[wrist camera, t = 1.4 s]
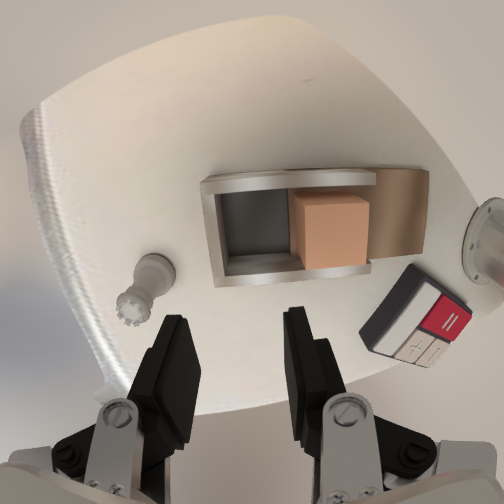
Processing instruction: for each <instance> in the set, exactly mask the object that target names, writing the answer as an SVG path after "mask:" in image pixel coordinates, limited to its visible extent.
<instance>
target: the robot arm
mask: <svg viewBox="0 0 504 504" xmlns="http://www.w3.org/2000/svg"><path fill="white" fill-rule="evenodd" d="M463 266H464V270H465V273H466V275H467V276H468V278H469V279H470V280H471V281H473V282H474V283H476V284H486V283H488V282H491V283H493V284H494V285H495V286H496V287H498V288H499V289H500V290H501V291H503V292H504V199H501V198H497V197H494V198H491V199H489V200H487V201H485V202H484V203H483V204H482V205H481V206H480V207H479V209H478V210H477V212H476V213H475V215H474V217H473V218H472V220H471V222H470V225H469V227H468V230H467V233H466V237H465V241H464V246H463ZM283 323H284V364H285V374H286V381H287V389H288V396H289V404H290V412H291V419H292V427H293V435H294V441H299V440H300V444H301V448H304V452H305V453H307V454H309V455H310V456H312V457H313V477H312V496H311V497H312V498H311V504H504V490H503V489H502V487H501V485H500V484H499V482H498V481H497V479H496V478H495V475H496V463H497V452H496V449H495V447H494V446H493V445H492V444H491V443H488V442H469V441H468V442H467V441H447V440H441V441H440V443H437V442H434V441H433V440H432V439H431V438H430V437H428V436H426V435H424V434H421V433H418V432H415V431H412V430H410V429H407V428H405V427H402V426H400V425H397V424H394V423H392V422H390V421H387V420H384V419H382V418H380V417H378V416H375V415H373V411H372V407H371V404H370V403H369V401H368V400H367V399H366V398H364V397H363V396H361V395H359V394H355V393H347V392H346V389H345V386H344V383H343V380H342V377H341V374H340V371H339V368H338V365H337V362H336V359H335V356H334V354H333V351H332V348H331V345H330V342H329V340H328V339H327V338H324V339H316V340H314V339H313V336H312V332H311V329H310V325H309V322H308V319H307V315H306V312H305V309H304V306H300V307H290V308H289V310H288V312H283ZM200 377H201V367H200V364H199V360H198V357H197V354H196V350H195V347H194V343H193V339H192V336H191V332H190V328H189V324H188V321H187V319H186V318H183V317H182V316H181V315H166V316H165V318H164V321H163V323H162V325H161V328H160V330H159V332H158V335H157V337H156V339H155V342H154V344H153V346H152V348H148V349H147V351H146V353H145V355H144V357H143V360H142V362H141V364H140V367H139V369H138V372H137V374H136V376H135V379H134V381H133V384H132V386H131V389H130V391H129V394H128V396H127V399H125V398H117V399H113V400H110V401H109V402H107V403H106V404H104V405H103V407H102V408H101V409H100V412H99V414H98V418H97V422H96V424H94V425H92V426H90V427H88V428H86V429H84V430H81V431H79V432H77V433H75V434H73V435H71V436H69V437H67V438H64V439H62V440H61V441H59V442H57V444H56V445H55V446H54V448H52V447H51V446H46V447H39V448H32V449H24V450H17V451H14V452H13V453H12V454H11V455H10V457H9V461H8V462H5V463H1V464H0V504H171V499H170V498H171V496H170V456H171V455H173V454H174V451H175V449H177V450H184V444H185V443H189V440H190V434H191V428H192V423H193V416H194V411H195V405H196V399H197V394H198V388H199V382H200ZM383 491H384V492H383Z"/></svg>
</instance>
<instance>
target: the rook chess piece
mask: <svg viewBox="0 0 504 504" xmlns="http://www.w3.org/2000/svg"><path fill="white" fill-rule="evenodd" d="M133 276H134V283H133V285H132V286H130V287H129V288H128V289H127V290H126V292H124V293H121V294H120V295H119V296H118V298H117V308H116V310H117V311H119V313H118V314H117V316H118V317H119V319H122V318H124V319H125V320H126V321H125V324H127V325H130V324H131V323H133V325H134V327H135V326H139V324H140V323H143V322H146V321H147V320H148V319H149V317H150V314H151V311H150V309H151V308H152V306H153V300H154V299H155V298H156V297H159V296H162V295H164V294H165V293H167V292H168V291H169V290H170V288H171V287H172V286H173V283H174V281H175V272H174V270H173V267H172V265H171V264H170V263H169V262H168V261H167V260H166V259H165V258H163V257H161V256H158V255H147V256H144V257H142V258H141V259H140V261H139V262H138V264H137V265H136V266H135V270H134V274H133Z"/></svg>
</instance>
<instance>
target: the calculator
mask: <svg viewBox="0 0 504 504" xmlns="http://www.w3.org/2000/svg"><path fill="white" fill-rule="evenodd" d="M472 313H473V312H472V310H471V309H470V308H469V307H468V306H467V305H465V304H464V303H463V302H462V301H461V300H460V299H458V298H457V297H456V296H455V295H453V294H452V293H451V292H449V291H448V290H447V289H445V288H444V287H443V286H441V285H440V284H439V283H437V282H436V281H435V280H433V279H432V278H431V277H430V276H428V275H427V274H426V273H424V272H423V271H421V270H420V269H419V268H417V267H416V266H414V265H413V264H409V265H408V266H407V268H406V269H405V271H404V272H403V274H402V275H401V277H400V278H399V279H398V281H397V282H396V284H395V285H394V287H393V288H392V289H391V291H390V292H389V293H388V295H387V296H386V298H385V299H384V300H383V302H382V303H381V304H380V306H379V307H378V308H377V309H376V311H375V312H374V313H373V315H372V316H371V317H370V318H369V320H368V321H367V322H366V323H365V325H364V326H363V327H362V328H361V330H360V331H359V335H360V336H361V338H362V340H363V342H364V344H365V346H366V347H367V349H368V351H371V352H374V353H377V354H380V355H384V356H387V357H390V358H394V359H397V360H400V361H404V362H407V363H411V364H415V365H418V366H422V367H425V368H430V367H431V366H433V364H434V363H435V362H436V361H437V360H438V359H439V358H440V356H441V355H442V354H443V353H444V352H445V351H446V350H447V349H448V347H449V346H450V342H451V341H454V340H455V339H456V338H457V336H458V335H459V334H460V333H461V331H462V330H463V329H464V327H465V326H466V325H467V323H468V322H469V321H470V319H471V318H472Z"/></svg>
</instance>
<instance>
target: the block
mask: <svg viewBox="0 0 504 504" xmlns="http://www.w3.org/2000/svg"><path fill="white" fill-rule="evenodd" d="M294 209H295V235H296V248H297V250H298V253H299V255H300V257H301V260H302V262H303V265H304V267H305V269H306V270H312V269H323V268H333V267H343V266H353V265H363V264H366V256H367V243H368V226H369V202H367V201H365V200H364V199H362V198H360V197H358V196H356V195H354V194H352V193H350V192H348V191H331V192H309V193H294Z"/></svg>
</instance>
